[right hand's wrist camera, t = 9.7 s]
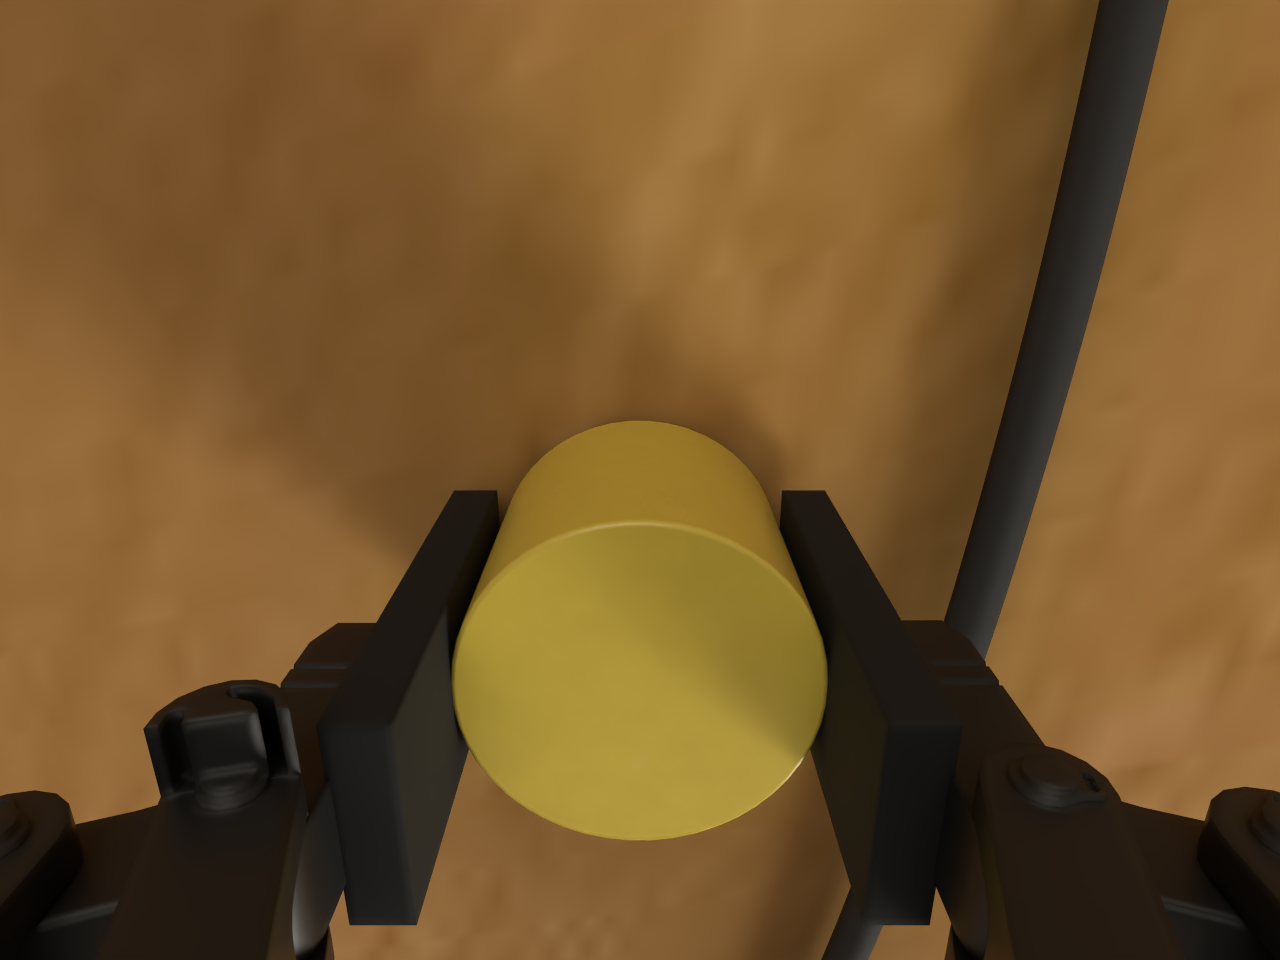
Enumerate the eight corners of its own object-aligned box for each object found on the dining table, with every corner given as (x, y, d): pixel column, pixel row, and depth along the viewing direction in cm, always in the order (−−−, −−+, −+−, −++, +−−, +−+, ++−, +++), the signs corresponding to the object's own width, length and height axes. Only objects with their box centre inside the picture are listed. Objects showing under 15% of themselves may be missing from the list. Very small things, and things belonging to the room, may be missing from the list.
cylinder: (485, 429, 14) (420, 534, 10) (775, 410, 14) (833, 508, 10) (519, 674, 16) (477, 852, 12) (777, 660, 16) (828, 833, 12)
